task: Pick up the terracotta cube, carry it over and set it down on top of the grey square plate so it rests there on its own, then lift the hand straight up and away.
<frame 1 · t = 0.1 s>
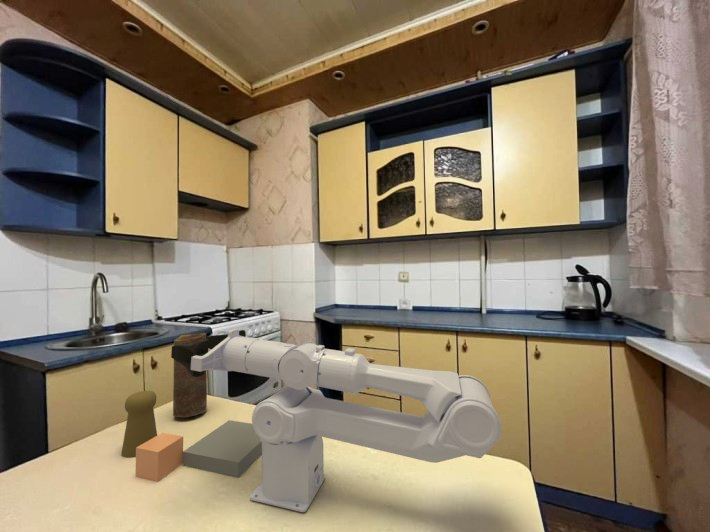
hand: (191, 346, 53), 22 cm above the table, tool horizontal, fingers open, 7 cm apart
candle: (190, 415, 72), on the table
terracotta cube: (160, 470, 52), on the table
cork: (140, 449, 58), on the table
grey square plate: (233, 454, 57), on the table
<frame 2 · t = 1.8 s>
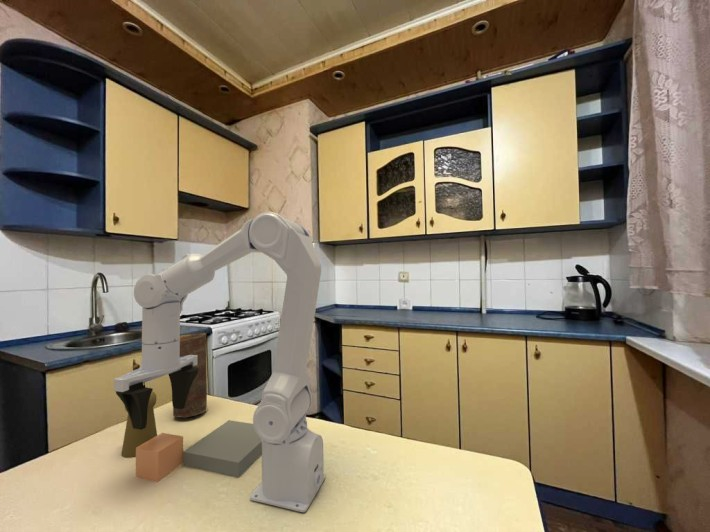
hand: (160, 417, 52), 9 cm above the table, tool pointing down, fingers open, 7 cm apart
nothing on the table moved.
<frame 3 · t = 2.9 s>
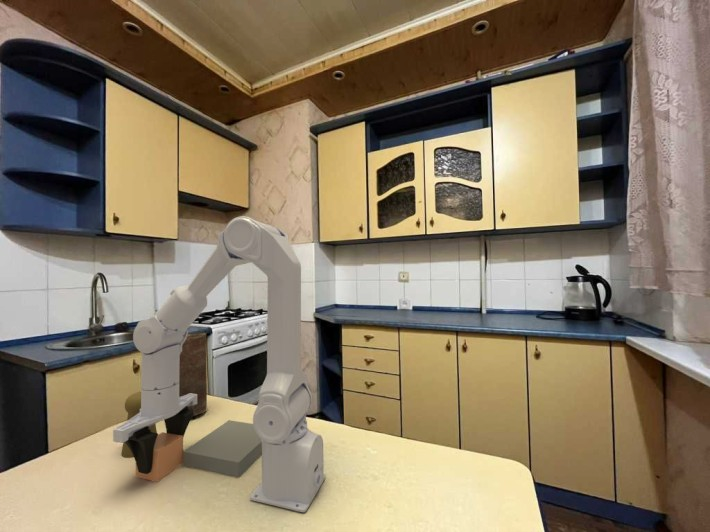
hand: (160, 461, 52), 1 cm above the table, tool pointing down, fingers closed on terracotta cube, 5 cm apart
terracotta cube: (160, 469, 52), on the table, touching gripper
everything else where it was.
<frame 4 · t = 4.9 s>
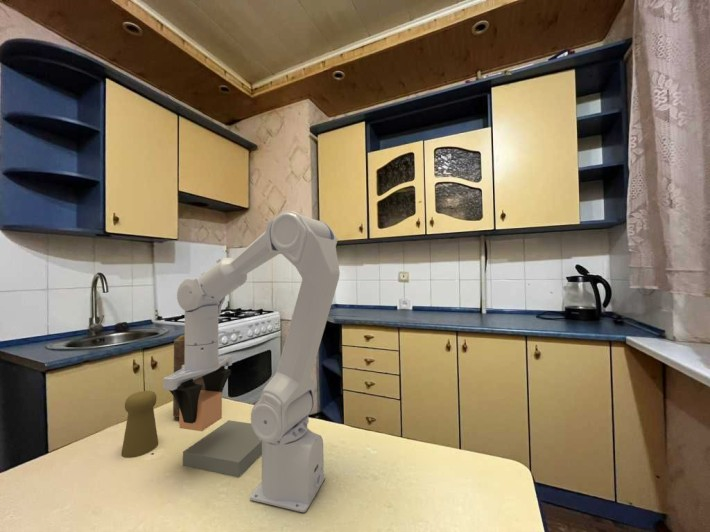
hand: (201, 414, 55), 8 cm above the table, tool pointing down, fingers closed on terracotta cube, 5 cm apart
terracotta cube: (201, 422, 55), point 7 cm above the table, touching gripper
everything else where it was.
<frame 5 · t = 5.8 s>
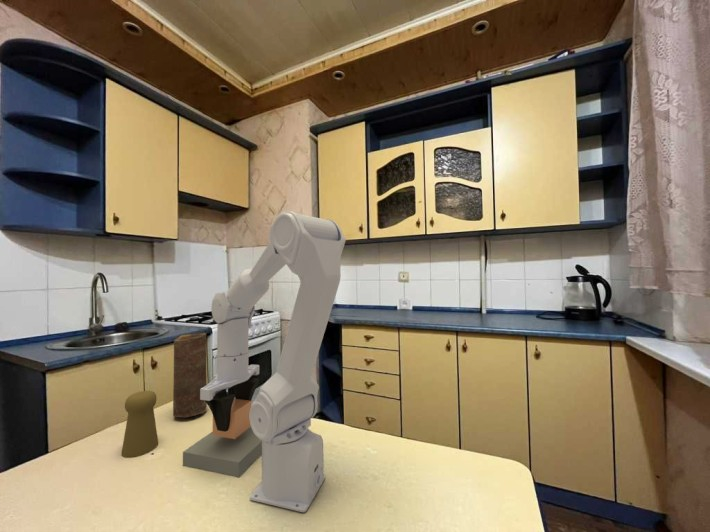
hand: (233, 422, 57), 6 cm above the table, tool pointing down, fingers closed on terracotta cube, 5 cm apart
terracotta cube: (232, 430, 57), point 4 cm above the table, touching gripper
everything else where it was.
when the fingers open (5 cm above the table, at t = 6.7 s): terracotta cube drops 2 cm, resting on grey square plate.
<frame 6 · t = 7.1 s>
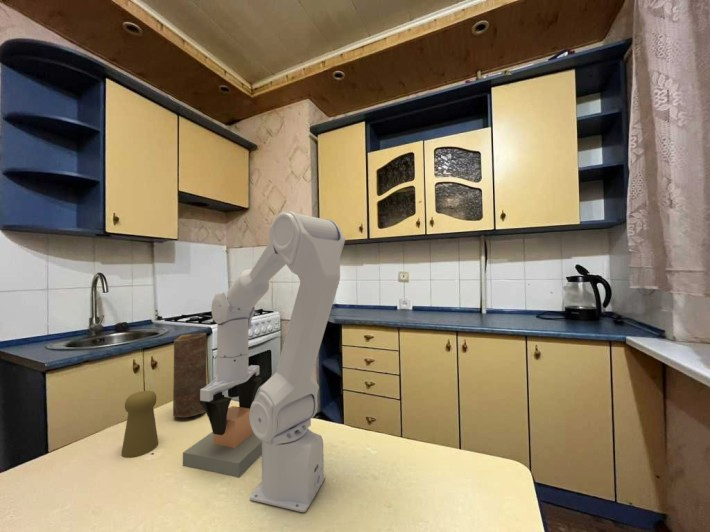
hand: (233, 423, 57), 5 cm above the table, tool pointing down, fingers open, 7 cm apart
terracotta cube: (233, 438, 57), point 2 cm above the table, touching grey square plate
grey square plate: (233, 454, 57), on the table, touching terracotta cube
everything else where it was.
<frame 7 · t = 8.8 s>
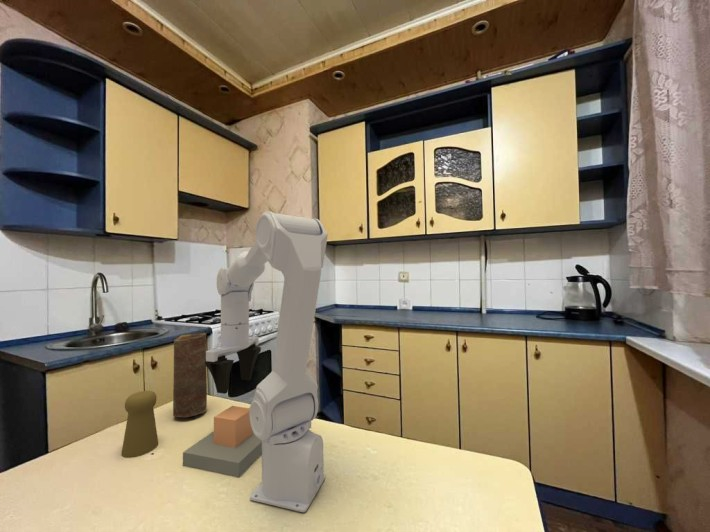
hand: (234, 385, 63), 11 cm above the table, tool pointing down, fingers open, 7 cm apart
nothing on the table moved.
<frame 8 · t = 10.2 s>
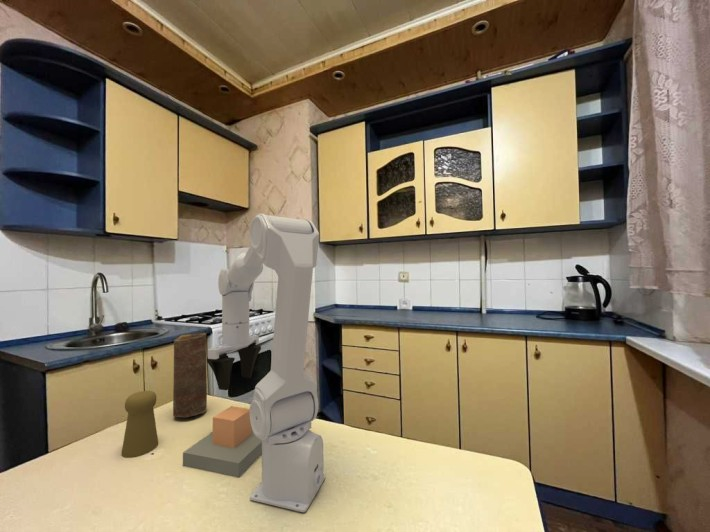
hand: (235, 382, 65), 10 cm above the table, tool pointing down, fingers open, 7 cm apart
nothing on the table moved.
at the end: terracotta cube inside the target area on the grey square plate (0.1 cm from its centre), point 3.0 cm above the grey square plate's base; terracotta cube point 2.4 cm above the table; terracotta cube tilted 0° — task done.
